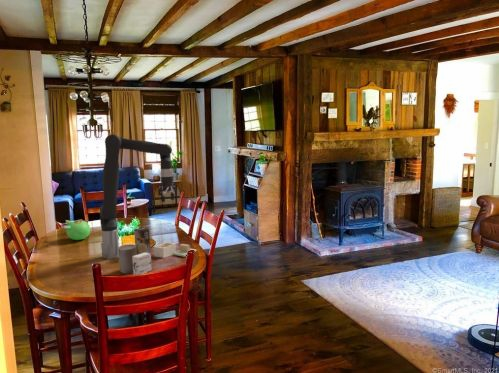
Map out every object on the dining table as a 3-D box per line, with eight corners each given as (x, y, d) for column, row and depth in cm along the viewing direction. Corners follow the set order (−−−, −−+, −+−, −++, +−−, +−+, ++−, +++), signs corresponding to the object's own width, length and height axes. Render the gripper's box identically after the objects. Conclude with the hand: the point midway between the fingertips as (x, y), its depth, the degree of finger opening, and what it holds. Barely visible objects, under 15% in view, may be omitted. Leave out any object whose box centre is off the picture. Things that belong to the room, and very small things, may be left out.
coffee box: (150, 251, 253) (149, 227, 251) (150, 254, 247) (149, 229, 244) (135, 253, 250) (134, 228, 248) (135, 256, 244) (134, 231, 242)
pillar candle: (139, 267, 225) (138, 241, 223) (135, 273, 215) (133, 246, 213) (122, 268, 224) (120, 242, 222) (117, 274, 215) (115, 247, 213)
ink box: (146, 272, 216) (145, 251, 214) (152, 274, 213) (151, 253, 211) (133, 277, 210) (131, 255, 208) (138, 279, 206) (137, 257, 205)
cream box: (163, 258, 240) (163, 248, 239) (154, 256, 244) (153, 246, 243) (176, 253, 249) (175, 243, 249) (166, 251, 254) (166, 242, 253)
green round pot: (90, 241, 280) (89, 221, 278) (64, 244, 274) (62, 223, 272) (90, 235, 297) (89, 216, 295) (66, 237, 291) (64, 218, 289)
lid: (184, 258, 240) (183, 248, 239) (173, 255, 245) (172, 246, 244) (196, 252, 250) (196, 243, 249) (185, 250, 255) (185, 241, 254)
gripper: (163, 177, 243) (164, 203, 245) (178, 174, 255) (179, 199, 257) (154, 176, 247) (155, 202, 249) (170, 174, 259) (171, 198, 261)
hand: (168, 200), depth 253 cm, fingers open, 8 cm apart
